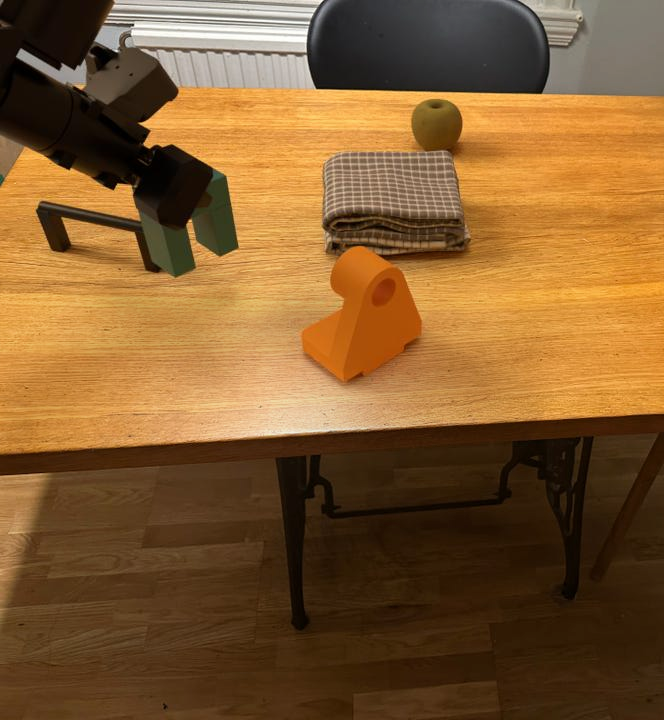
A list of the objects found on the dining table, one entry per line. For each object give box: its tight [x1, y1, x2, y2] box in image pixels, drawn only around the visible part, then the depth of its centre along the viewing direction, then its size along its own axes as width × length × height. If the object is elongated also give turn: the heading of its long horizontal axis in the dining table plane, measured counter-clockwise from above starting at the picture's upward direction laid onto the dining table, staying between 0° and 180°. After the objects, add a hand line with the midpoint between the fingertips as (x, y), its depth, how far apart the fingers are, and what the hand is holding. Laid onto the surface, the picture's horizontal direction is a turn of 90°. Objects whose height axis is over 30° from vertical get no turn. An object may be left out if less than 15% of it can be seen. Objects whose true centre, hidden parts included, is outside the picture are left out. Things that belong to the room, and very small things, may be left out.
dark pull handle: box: [35, 200, 163, 274], centre depth 79 cm, size 2×14×6 cm, turn 78°
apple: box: [410, 98, 464, 152], centre depth 106 cm, size 8×8×7 cm
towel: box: [321, 150, 472, 257], centre depth 89 cm, size 15×18×8 cm
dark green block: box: [131, 166, 240, 279], centre depth 69 cm, size 8×4×8 cm, turn 142°
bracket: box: [300, 246, 423, 383], centre depth 70 cm, size 11×7×12 cm, turn 138°
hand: (196, 193), depth 68 cm, fingers closed on dark green block, 4 cm apart
